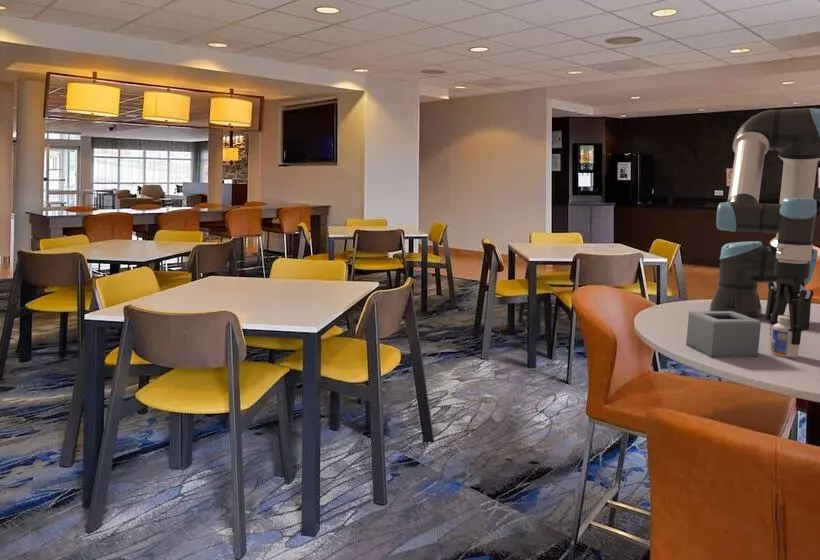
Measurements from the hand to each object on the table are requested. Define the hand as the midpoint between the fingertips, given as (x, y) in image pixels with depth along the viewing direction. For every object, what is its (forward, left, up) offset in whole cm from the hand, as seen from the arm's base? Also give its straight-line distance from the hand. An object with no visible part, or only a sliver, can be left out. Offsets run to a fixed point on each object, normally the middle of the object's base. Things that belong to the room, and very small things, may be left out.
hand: (783, 353), depth 165 cm
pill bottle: (0, 0, -1) cm, 1 cm away
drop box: (+14, -4, 0) cm, 15 cm away
